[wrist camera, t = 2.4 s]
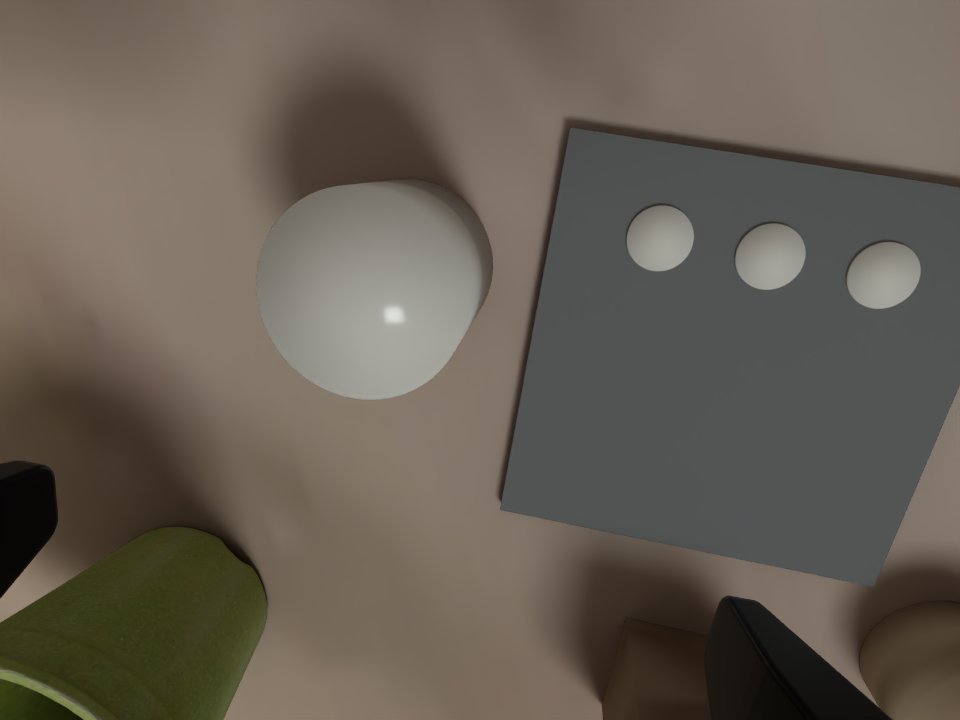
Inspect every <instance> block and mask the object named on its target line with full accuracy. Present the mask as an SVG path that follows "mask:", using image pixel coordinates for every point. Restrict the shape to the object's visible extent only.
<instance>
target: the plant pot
mask: <svg viewBox="0 0 960 720" xmlns="http://www.w3.org/2000/svg"><path fill="white" fill-rule="evenodd" d="M266 619H267V601H266V596H265V592H264V589H263V586H262V584H261V582H260V579H259V578H258V576H257V574H256V573H255V571H254V569H253V568H252V567H251V566H249V565H247V564H245V563H243V562H242V561H241V560H239V559H238V558H237V557H236V556H235V555H234V554H233V553H232V552H231V551H230V550H229V549H228V548H227V547H226V546H225V544H224V543H223V541H222V540H221V539H219V538H218V537H216V536H213V535H211V534H209V533H206V532H203V531H200V530H197V529H193V528H188V527H164V528H159V529H155V530H152V531H149V532H146V533H144V534H142V535H141V536H139V537H137V538H135V539H134V540H132V541H130V542H129V543H127V544H126V545H124V546H123V547H121V548H119V549H118V550H116V551H115V552H113V553H111V554H110V555H108V556H107V557H105V558H104V559H102V560H101V561H99V562H98V563H96V564H95V565H93V566H91V567H90V568H88V569H87V570H85V571H83V572H82V573H80V574H79V575H77V576H75V577H74V578H72V579H71V580H69V581H67V582H66V583H64V584H63V585H61V586H59V587H58V588H56V589H55V590H53V591H51V592H50V593H48V594H46V595H45V596H43V597H42V598H40V599H38V600H37V601H35V602H33V603H32V604H30V605H28V606H27V607H25V608H24V609H22V610H20V611H19V612H17V613H15V614H14V615H12V616H11V617H9V618H7V619H6V620H4V621H2V622H1V623H0V720H223V719H224V717H225V715H226V712H227V710H228V708H229V706H230V704H231V701H232V699H233V697H234V695H235V693H236V690H237V688H238V686H239V684H240V681H241V679H242V677H243V675H244V673H245V670H246V668H247V666H248V664H249V662H250V659H251V657H252V655H253V653H254V651H255V649H256V646H257V644H258V642H259V640H260V638H261V635H262V633H263V630H264V628H265V624H266Z"/></svg>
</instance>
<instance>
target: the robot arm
mask: <svg viewBox="0 0 960 720" xmlns="http://www.w3.org/2000/svg"><path fill="white" fill-rule="evenodd" d="M57 523H58V509H57V498H56V487H55V477H54V473H53V472H52V470H51V468H49V467H48V466H46V465H42V464H37V463H31V462H26V461H12V462H7V463H3V464H0V598H1V597H2V596H3V595H4V593H5V592H6V591H7V590H8V589H9V587H10V586H11V585H12V584H13V583H14V581H15V580H16V579H17V578H18V577H19V575H20V574H21V573H22V572H23V571H24V569H25V568H26V567H27V566H28V565H29V563H30V562H31V561H32V560H33V558H34V557H35V556H36V555H37V554H38V552H39V551H40V550H41V549H42V548H43V546H44V545H45V544H46V543H47V542H48V540H49V539H50V538H51V536H52V535H53V533H54V531H55V529H56V526H57ZM703 661H704V672H705V680H706V688H707V696H708V704H709V711H710V719H711V720H893V719H891V718H890V717H889V716H888V715H887V714H886V713H885V712H883V711H882V710H881V709H880V708H879V707H878V706H877V705H875V704H874V703H873V702H872V701H871V700H870V699H869V698H867V697H866V696H865V695H864V694H863V693H862V692H861V691H859V690H858V689H857V688H856V687H855V686H854V685H853V684H852V683H850V682H849V681H848V680H847V679H846V678H845V677H844V676H842V675H841V674H840V673H839V672H838V671H837V670H836V669H834V668H833V667H832V666H831V665H830V664H829V663H828V662H826V661H825V660H824V659H823V658H822V657H821V656H820V655H819V654H817V653H816V652H815V651H814V650H813V649H812V648H811V647H809V646H808V645H807V644H806V643H805V642H804V641H803V640H801V639H800V638H799V637H798V636H797V635H796V634H795V633H793V632H792V631H791V630H790V629H789V628H788V627H787V626H785V625H784V624H783V623H782V622H781V621H780V620H779V619H778V618H776V617H775V616H774V615H773V614H772V613H771V612H770V611H768V610H767V609H766V608H765V607H764V606H763V605H762V604H760V603H759V602H757V601H755V600H750V599H744V598H739V597H734V596H726V597H724V598H722V600H721V601H720V603H719V605H718V608H717V611H716V614H715V617H714V620H713V623H712V626H711V629H710V632H709V635H708V638H707V641H706V644H705V649H704V658H703Z"/></svg>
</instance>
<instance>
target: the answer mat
mask: <svg viewBox="0 0 960 720" xmlns="http://www.w3.org/2000/svg"><path fill="white" fill-rule="evenodd" d="M959 386H960V187H955V186H949V185H942V184H936V183H929V182H923V181H916V180H910V179H903V178H896V177H890V176H883V175H877V174H870V173H864V172H857V171H851V170H844V169H838V168H831V167H825V166H818V165H812V164H805V163H798V162H792V161H785V160H779V159H772V158H766V157H759V156H753V155H746V154H740V153H733V152H727V151H720V150H713V149H707V148H700V147H694V146H687V145H681V144H674V143H668V142H661V141H655V140H648V139H642V138H635V137H629V136H622V135H615V134H609V133H602V132H596V131H589V130H583V129H576V128H570V132H569V137H568V143H567V148H566V153H565V159H564V164H563V170H562V175H561V181H560V186H559V192H558V197H557V202H556V208H555V213H554V219H553V224H552V230H551V235H550V241H549V246H548V251H547V257H546V262H545V268H544V273H543V279H542V284H541V290H540V295H539V300H538V306H537V311H536V317H535V322H534V328H533V333H532V339H531V344H530V349H529V355H528V360H527V366H526V371H525V377H524V382H523V388H522V393H521V398H520V404H519V409H518V415H517V420H516V426H515V431H514V437H513V442H512V447H511V453H510V458H509V464H508V469H507V475H506V480H505V486H504V491H503V496H502V502H501V507H500V510H504V511H508V512H513V513H518V514H523V515H528V516H533V517H538V518H542V519H547V520H552V521H557V522H562V523H567V524H572V525H576V526H581V527H586V528H591V529H596V530H601V531H606V532H610V533H615V534H620V535H625V536H630V537H635V538H639V539H644V540H649V541H654V542H659V543H664V544H669V545H673V546H678V547H683V548H688V549H693V550H698V551H703V552H707V553H712V554H717V555H722V556H727V557H732V558H737V559H741V560H746V561H751V562H756V563H761V564H766V565H770V566H775V567H780V568H785V569H790V570H795V571H800V572H804V573H809V574H814V575H819V576H824V577H829V578H834V579H838V580H843V581H848V582H853V583H858V584H863V585H868V586H872V587H874V585H875V583H876V580H877V578H878V576H879V573H880V571H881V569H882V566H883V564H884V562H885V559H886V557H887V555H888V552H889V550H890V547H891V545H892V543H893V540H894V538H895V536H896V533H897V531H898V529H899V526H900V524H901V522H902V519H903V517H904V515H905V512H906V510H907V508H908V505H909V503H910V501H911V498H912V496H913V494H914V491H915V489H916V487H917V484H918V482H919V479H920V477H921V475H922V472H923V470H924V468H925V465H926V463H927V461H928V458H929V456H930V454H931V451H932V449H933V447H934V444H935V442H936V440H937V437H938V435H939V433H940V430H941V428H942V426H943V423H944V421H945V419H946V416H947V414H948V411H949V409H950V407H951V404H952V402H953V400H954V397H955V395H956V393H957V390H958V388H959Z"/></svg>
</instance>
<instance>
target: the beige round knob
mask: <svg viewBox="0 0 960 720" xmlns="http://www.w3.org/2000/svg"><path fill="white" fill-rule="evenodd" d="M859 666H860V672H861V675H862V678H863V680H864V682H865V683H866V685H867V687H868V689H869V690H870V692H871V694H872V696H873V698H874V699H875V701H876V703H877V705H878V706H879V708H880V709H881V710H882V711H883V712H885V713H886V714H887V715H888V716H889V717H890V718H891V719H893V720H960V602H953V601H930V602H924V603H919V604H915V605H911V606H908V607H905V608H903V609H900V610H898V611H896V612H894V613H892V614H891V615H889V616H887V617H886V618H884V619H883V620H882V621H881V622H879V623H878V624H877V625H876V626H875V627H874V628H873V629H872V630H871V632H870V633H869V634H868V636H867V637H866V639H865V641H864V643H863V645H862V648H861V651H860V657H859Z"/></svg>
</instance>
